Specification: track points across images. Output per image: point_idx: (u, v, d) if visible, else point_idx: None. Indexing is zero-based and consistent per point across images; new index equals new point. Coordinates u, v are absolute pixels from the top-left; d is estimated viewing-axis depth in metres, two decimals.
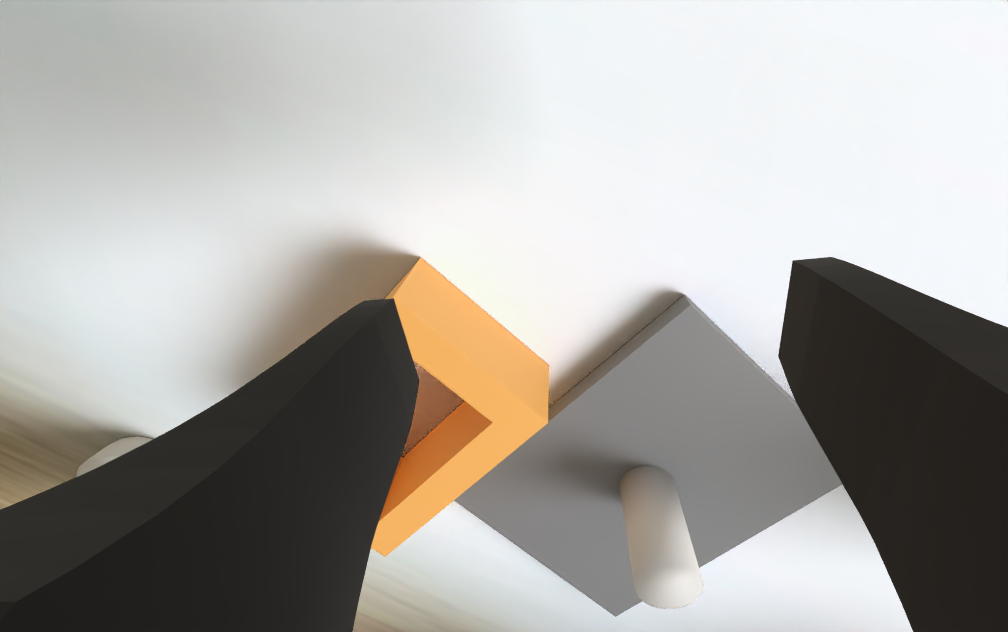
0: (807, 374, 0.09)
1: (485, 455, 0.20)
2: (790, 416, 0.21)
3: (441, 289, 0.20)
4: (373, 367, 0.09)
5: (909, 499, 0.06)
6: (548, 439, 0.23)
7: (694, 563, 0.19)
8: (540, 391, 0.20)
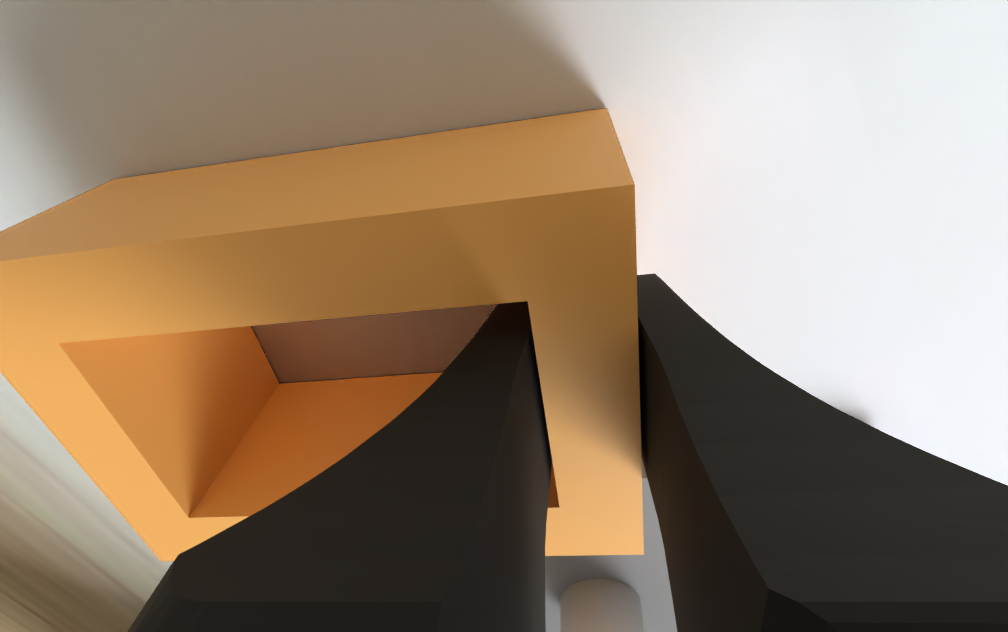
0: None
1: None
2: None
3: None
4: None
5: (667, 505, 0.07)
6: None
7: None
8: None
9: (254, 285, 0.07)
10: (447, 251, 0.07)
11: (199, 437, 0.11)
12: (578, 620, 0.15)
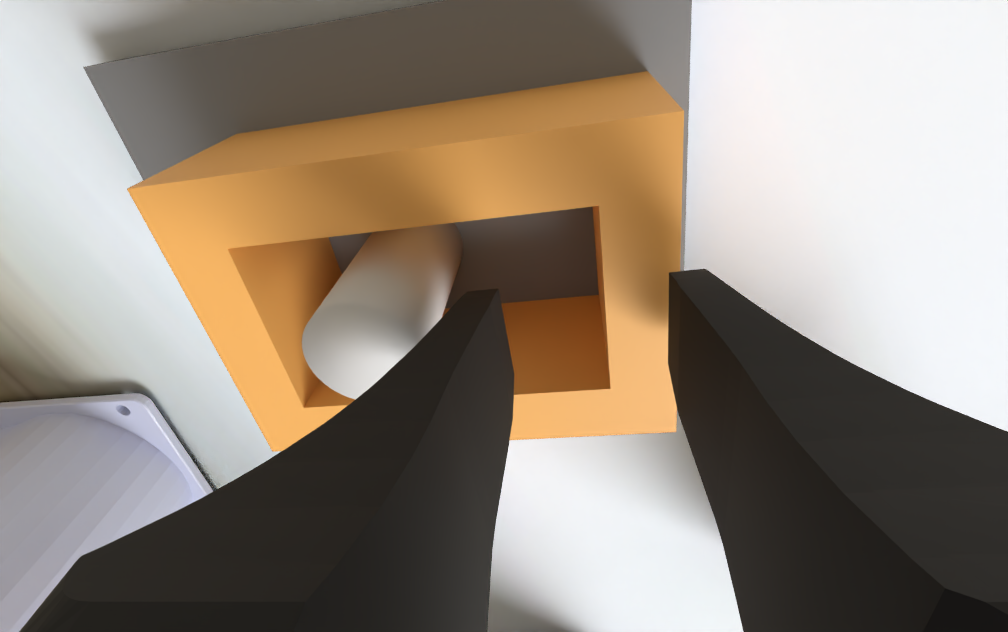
0: (680, 382, 0.09)
1: (553, 419, 0.12)
2: None
3: None
4: (490, 358, 0.09)
5: (735, 504, 0.07)
6: (316, 57, 0.12)
7: None
8: None
9: (391, 196, 0.09)
10: (542, 165, 0.09)
11: None
12: None
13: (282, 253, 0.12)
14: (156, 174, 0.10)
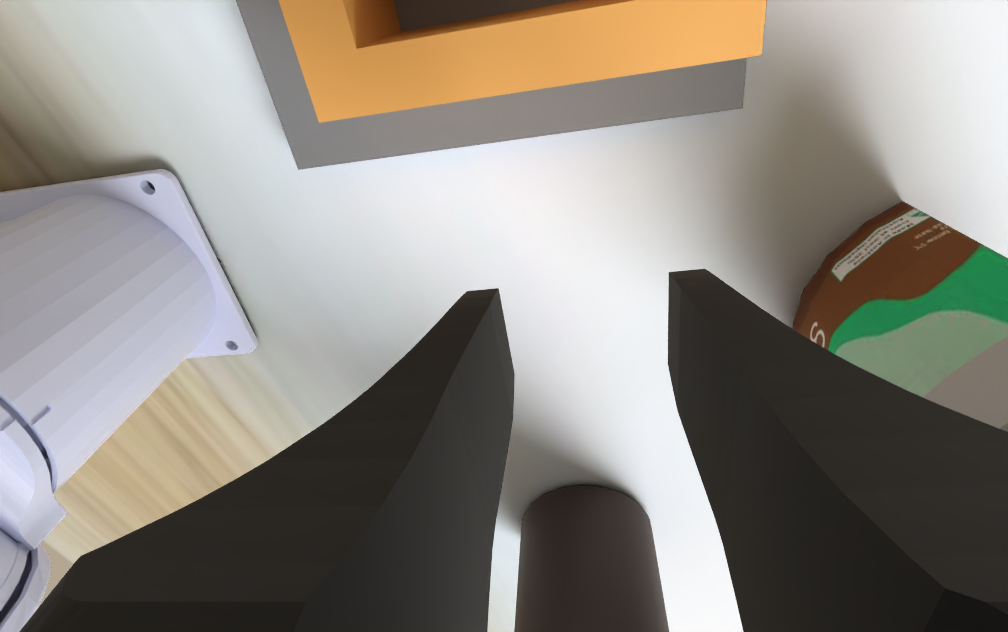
0: (680, 382, 0.09)
1: (627, 45, 0.11)
2: None
3: None
4: (490, 358, 0.09)
5: (735, 504, 0.07)
6: None
7: None
8: None
9: None
10: None
11: None
12: None
13: None
14: None
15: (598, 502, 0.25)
